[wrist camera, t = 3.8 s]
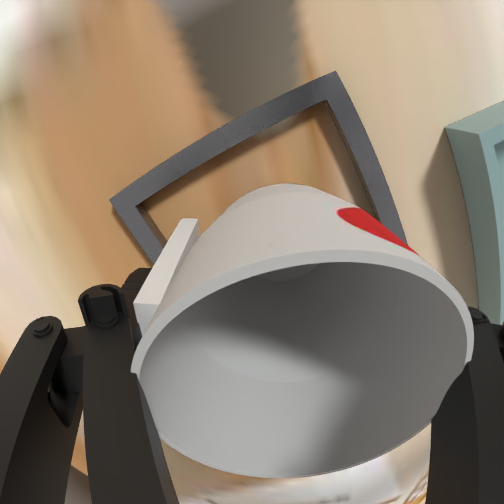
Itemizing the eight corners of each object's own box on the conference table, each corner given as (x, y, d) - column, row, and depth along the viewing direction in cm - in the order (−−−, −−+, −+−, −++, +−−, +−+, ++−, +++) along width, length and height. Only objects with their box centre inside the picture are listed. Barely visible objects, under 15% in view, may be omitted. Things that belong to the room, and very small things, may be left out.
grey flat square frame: (331, 72, 12) (335, 70, 11) (412, 275, 17) (418, 282, 16) (115, 195, 15) (109, 199, 14) (234, 356, 19) (234, 365, 18)
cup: (379, 265, 16) (470, 413, 7) (248, 327, 18) (245, 493, 9) (319, 124, 13) (447, 162, 4) (165, 207, 15) (60, 352, 6)
